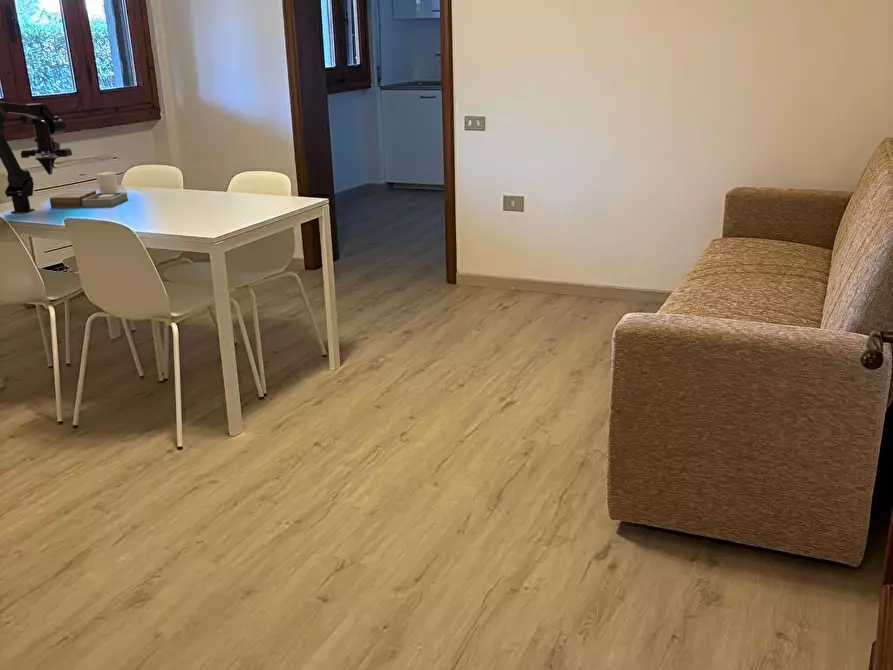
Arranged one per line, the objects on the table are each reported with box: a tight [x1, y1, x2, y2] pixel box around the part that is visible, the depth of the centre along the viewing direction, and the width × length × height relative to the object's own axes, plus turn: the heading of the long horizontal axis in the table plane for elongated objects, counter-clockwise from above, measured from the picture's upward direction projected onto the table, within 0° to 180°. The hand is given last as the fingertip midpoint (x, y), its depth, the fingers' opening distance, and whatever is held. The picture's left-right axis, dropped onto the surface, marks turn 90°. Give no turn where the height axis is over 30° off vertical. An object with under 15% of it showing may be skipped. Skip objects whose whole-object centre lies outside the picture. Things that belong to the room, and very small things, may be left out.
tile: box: [98, 194, 115, 199], centre depth 341 cm, size 5×5×2 cm
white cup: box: [96, 171, 119, 193], centre depth 355 cm, size 8×8×10 cm
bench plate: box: [49, 190, 97, 209], centre depth 341 cm, size 16×12×4 cm
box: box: [82, 191, 128, 208], centre depth 341 cm, size 16×12×3 cm
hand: (50, 174), depth 340 cm, fingers closed
